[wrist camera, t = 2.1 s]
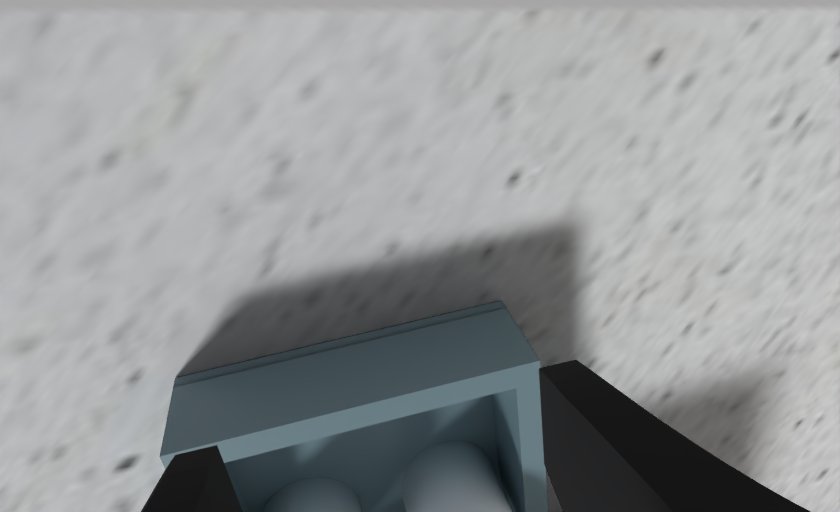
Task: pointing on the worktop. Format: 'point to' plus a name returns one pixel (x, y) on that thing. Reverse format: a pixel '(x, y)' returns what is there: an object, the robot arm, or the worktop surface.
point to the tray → (377, 420)
